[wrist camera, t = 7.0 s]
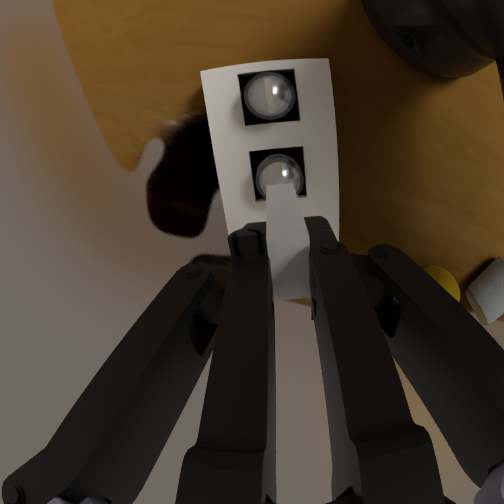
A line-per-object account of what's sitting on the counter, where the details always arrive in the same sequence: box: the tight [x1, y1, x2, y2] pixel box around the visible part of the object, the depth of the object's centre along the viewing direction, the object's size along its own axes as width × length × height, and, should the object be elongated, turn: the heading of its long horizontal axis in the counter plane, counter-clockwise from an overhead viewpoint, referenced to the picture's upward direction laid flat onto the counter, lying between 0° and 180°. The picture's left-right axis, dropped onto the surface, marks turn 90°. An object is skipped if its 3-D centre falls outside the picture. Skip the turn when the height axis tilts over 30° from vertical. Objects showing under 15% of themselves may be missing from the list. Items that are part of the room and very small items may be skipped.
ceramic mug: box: [466, 256, 504, 325], centre depth 28 cm, size 11×8×8 cm
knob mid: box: [256, 150, 304, 199], centre depth 22 cm, size 4×4×4 cm
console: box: [200, 58, 339, 241], centre depth 24 cm, size 19×10×4 cm, turn 8°
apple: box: [422, 265, 460, 302], centre depth 27 cm, size 6×6×8 cm
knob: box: [244, 72, 295, 120], centre depth 18 cm, size 4×4×4 cm
